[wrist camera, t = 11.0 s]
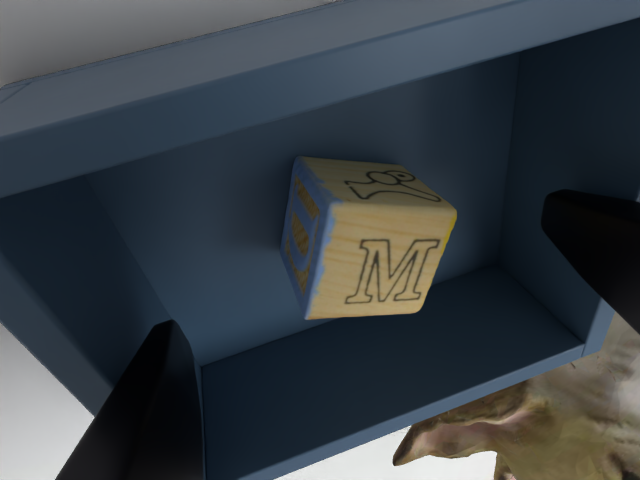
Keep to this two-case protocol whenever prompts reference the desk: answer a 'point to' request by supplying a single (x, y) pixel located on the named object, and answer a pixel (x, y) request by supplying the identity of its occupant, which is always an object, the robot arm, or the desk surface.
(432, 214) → the alphabet block
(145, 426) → the robot arm
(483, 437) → the ceramic sculpture
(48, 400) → the desk surface
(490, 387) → the blue open box
